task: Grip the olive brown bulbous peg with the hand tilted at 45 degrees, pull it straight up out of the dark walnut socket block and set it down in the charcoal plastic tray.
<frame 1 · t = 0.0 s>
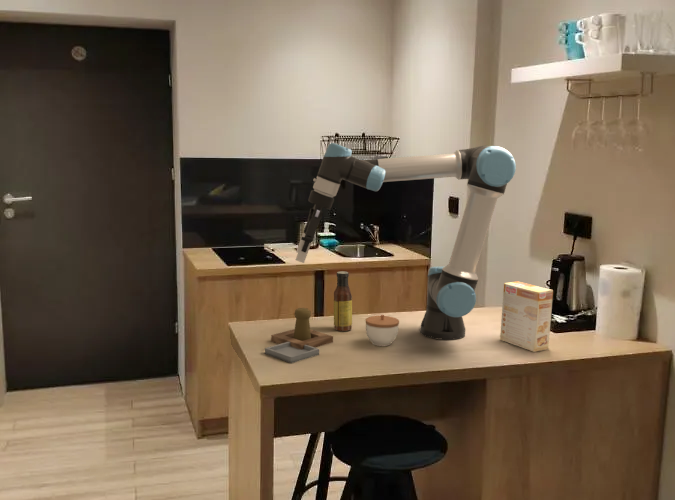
hand: (299, 257, 220), 28 cm above the countertop, tool tilted 20°, fingers open, 13 cm apart
socket block: (302, 341, 227), on the countertop
coffeecake box: (523, 345, 231), on the countertop
olive brown bulbous peg: (302, 342, 227), resting in socket block
sauce bottle: (342, 329, 242), on the countertop
tray: (292, 354, 214), on the countertop
lidded jar: (381, 343, 227), on the countertop
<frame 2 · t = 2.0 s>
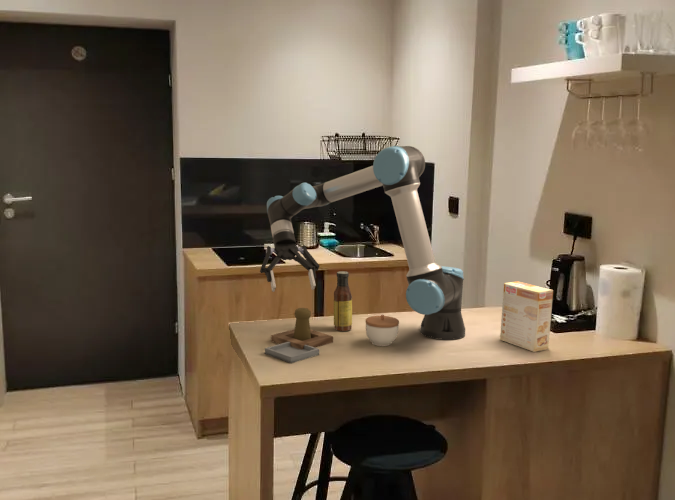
hand: (294, 288, 233), 15 cm above the countertop, tool tilted 45°, fingers open, 13 cm apart
nothing on the countertop moved.
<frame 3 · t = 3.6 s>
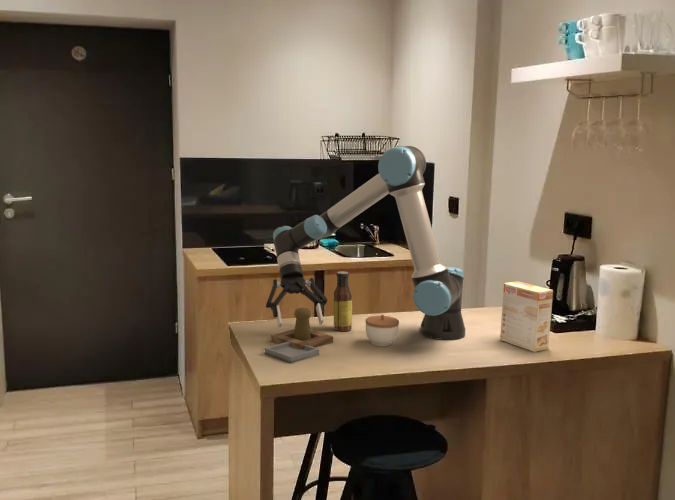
hand: (301, 324, 225), 6 cm above the countertop, tool tilted 45°, fingers open, 13 cm apart
nothing on the countertop moved.
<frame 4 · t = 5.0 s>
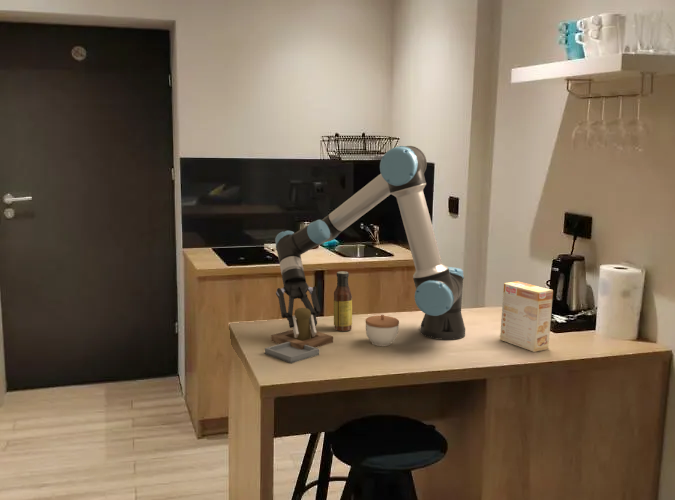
hand: (305, 335, 222), 3 cm above the countertop, tool tilted 45°, fingers closed on olive brown bulbous peg, 5 cm apart
olive brown bulbous peg: (302, 342, 227), resting in socket block, touching gripper
everything else where it was.
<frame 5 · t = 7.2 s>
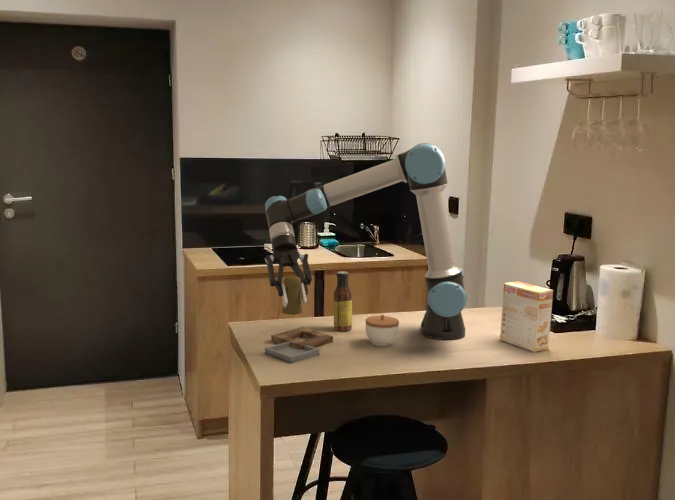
hand: (295, 304, 208), 16 cm above the countertop, tool tilted 45°, fingers closed on olive brown bulbous peg, 5 cm apart
olive brown bulbous peg: (291, 312, 212), point 13 cm above the countertop, touching gripper
everything else where it was.
when the fingers open (5 cm above the countertop, at t = 9.6 s): olive brown bulbous peg drops 1 cm, resting on tray.
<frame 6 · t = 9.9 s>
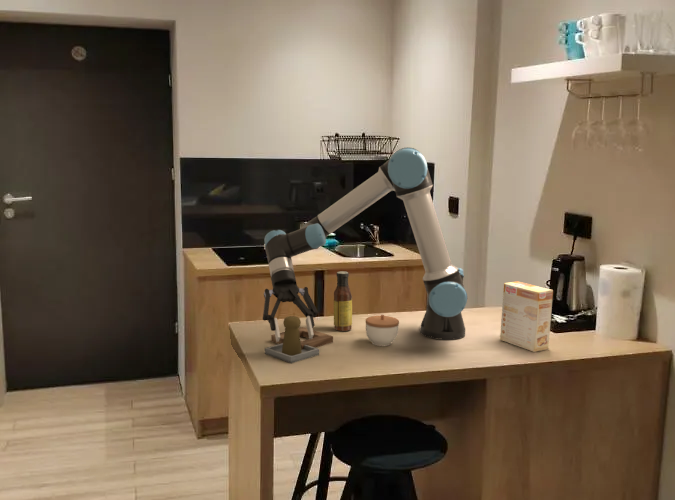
hand: (295, 338, 210), 6 cm above the countertop, tool tilted 45°, fingers open, 9 cm apart
olive brown bulbous peg: (291, 352, 214), resting on tray
everything else where it was.
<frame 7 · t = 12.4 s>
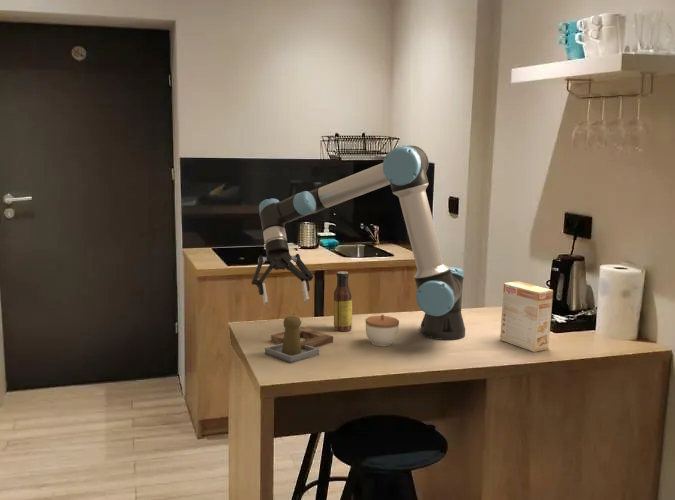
hand: (286, 302, 226), 12 cm above the countertop, tool tilted 35°, fingers open, 13 cm apart
nothing on the countertop moved.
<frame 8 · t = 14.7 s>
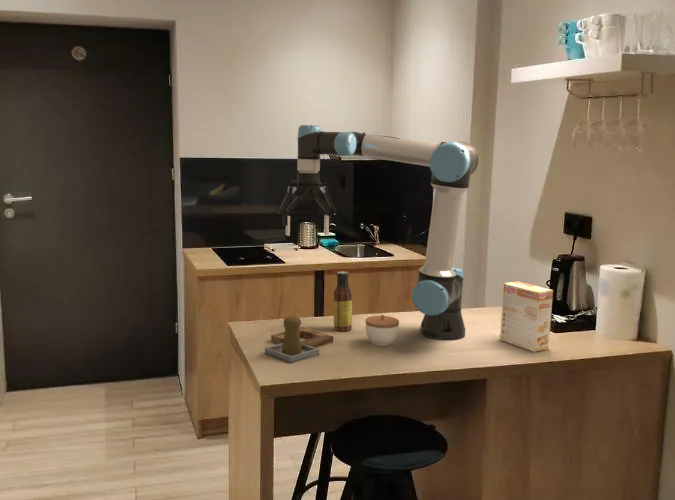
hand: (307, 234, 240), 32 cm above the countertop, tool pointing down, fingers open, 13 cm apart
nothing on the countertop moved.
at the end: olive brown bulbous peg inside the target area on the tray (0.1 cm from its centre), point 0.4 cm above the tray's base; olive brown bulbous peg tilted 0°; the gripper is holding nothing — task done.
